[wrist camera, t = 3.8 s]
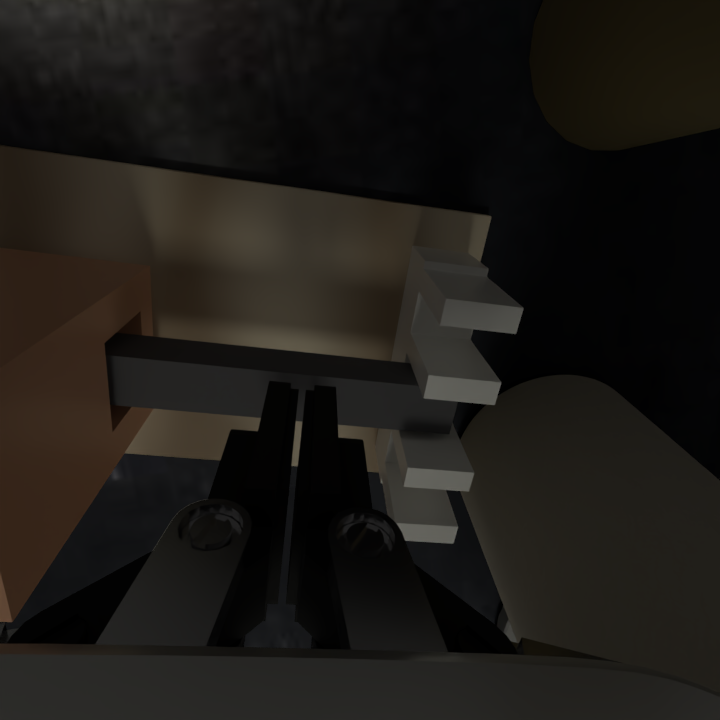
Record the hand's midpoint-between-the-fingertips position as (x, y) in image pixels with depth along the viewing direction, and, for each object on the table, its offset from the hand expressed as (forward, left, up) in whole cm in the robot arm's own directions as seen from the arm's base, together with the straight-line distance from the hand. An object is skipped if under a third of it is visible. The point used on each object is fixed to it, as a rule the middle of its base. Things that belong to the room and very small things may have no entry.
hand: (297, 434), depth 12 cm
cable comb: (-4, 0, -7) cm, 8 cm away
